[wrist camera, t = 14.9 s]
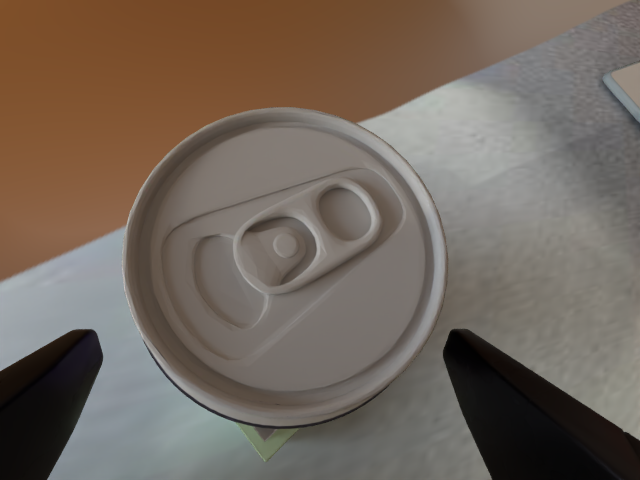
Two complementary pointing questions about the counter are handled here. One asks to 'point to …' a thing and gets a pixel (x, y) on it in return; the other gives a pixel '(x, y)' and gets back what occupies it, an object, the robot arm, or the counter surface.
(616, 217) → the counter surface
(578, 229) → the counter surface
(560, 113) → the counter surface
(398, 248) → the beverage can
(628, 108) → the smartphone
